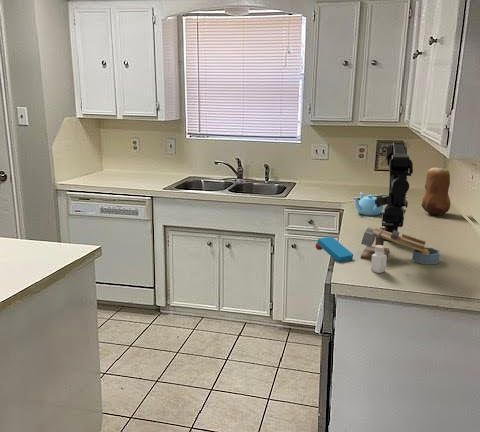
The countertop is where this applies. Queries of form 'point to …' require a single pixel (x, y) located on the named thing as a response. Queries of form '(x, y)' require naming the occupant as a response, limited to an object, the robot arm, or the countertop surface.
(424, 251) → the ball
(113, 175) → the countertop surface
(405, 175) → the robot arm
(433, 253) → the blue bowl
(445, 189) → the butternut squash
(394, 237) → the tipping lever
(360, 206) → the teapot
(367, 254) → the lever stand
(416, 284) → the countertop surface
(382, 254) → the pepper shaker
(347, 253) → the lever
